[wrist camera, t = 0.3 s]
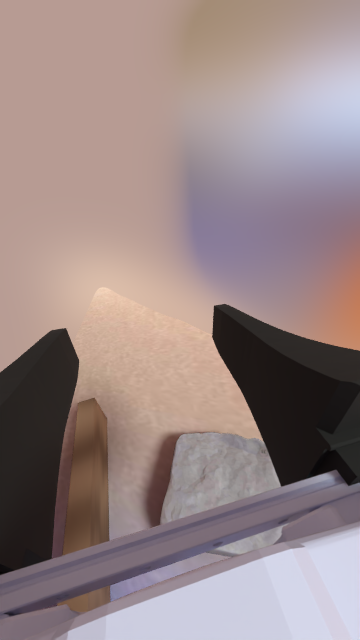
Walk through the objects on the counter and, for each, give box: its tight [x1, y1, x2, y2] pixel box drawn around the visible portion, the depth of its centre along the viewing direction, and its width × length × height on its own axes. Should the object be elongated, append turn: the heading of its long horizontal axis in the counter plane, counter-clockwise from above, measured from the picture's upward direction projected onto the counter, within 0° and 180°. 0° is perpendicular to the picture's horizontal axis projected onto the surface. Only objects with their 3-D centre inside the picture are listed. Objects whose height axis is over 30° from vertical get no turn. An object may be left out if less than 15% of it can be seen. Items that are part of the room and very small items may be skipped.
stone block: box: [160, 432, 289, 557], centre depth 21 cm, size 12×5×10 cm
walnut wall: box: [57, 398, 110, 612], centre depth 19 cm, size 24×2×5 cm, turn 17°
